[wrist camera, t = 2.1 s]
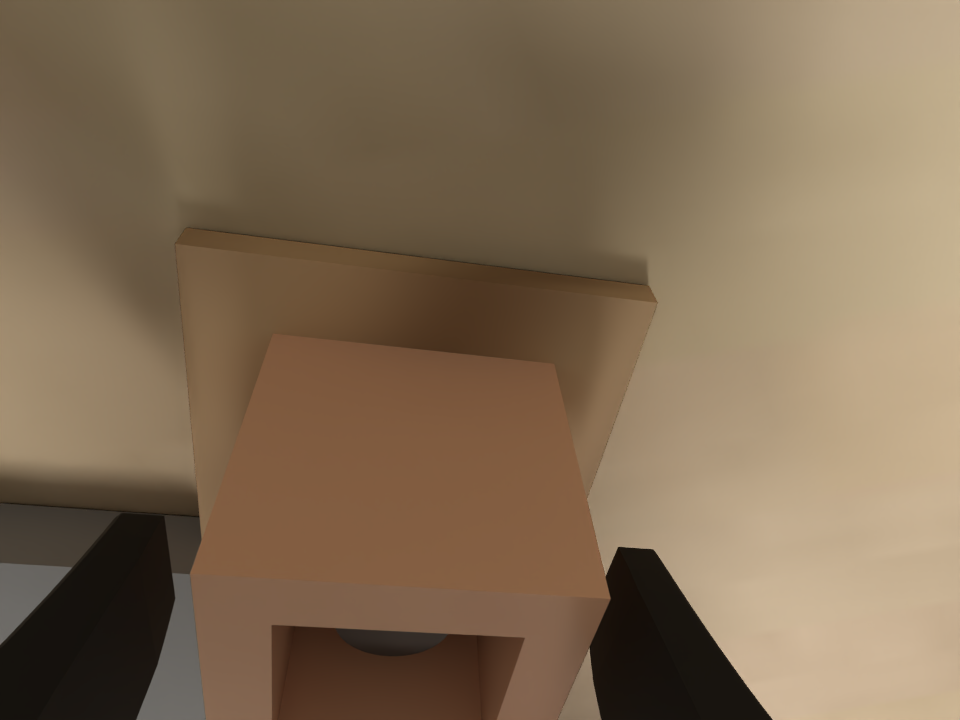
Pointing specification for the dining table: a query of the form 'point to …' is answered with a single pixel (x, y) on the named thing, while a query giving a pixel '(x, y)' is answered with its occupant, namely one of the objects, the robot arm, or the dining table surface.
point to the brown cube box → (397, 540)
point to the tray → (57, 548)
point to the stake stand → (393, 338)
